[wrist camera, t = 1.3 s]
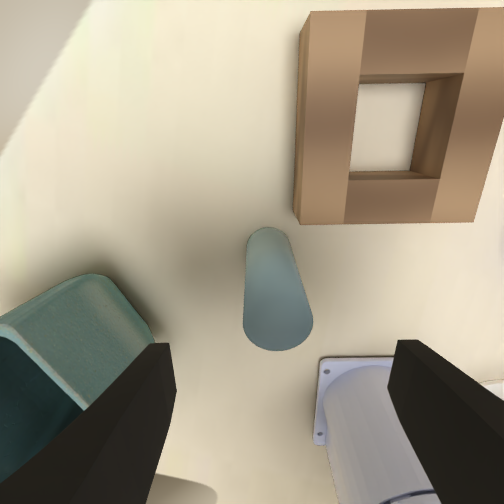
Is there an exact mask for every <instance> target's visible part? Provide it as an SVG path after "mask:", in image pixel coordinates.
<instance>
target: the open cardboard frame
mask: <svg viewBox="0 0 504 504" xmlns="http://www.w3.org/2000/svg"><path fill="white" fill-rule="evenodd" d="M379 83H426V87H425V93H424V98H423V103H422V109H421V114H420V119H419V125H418V130H417V135H416V141H415V146H414V151H413V156H412V162H411V167H410V171H364V172H349V168H350V159H351V150H352V141H353V132H354V122H355V113H356V104H357V95H358V86H359V84H379ZM503 118H504V7H493V8H443V9H393V10H344V11H311V12H310V14H309V16H308V18H307V20H306V22H305V24H304V26H303V28H302V30H301V32H300V40H299V66H298V91H297V117H296V142H295V168H294V193H293V211H294V213H295V215H296V218H297V220H298V222H299V224H300V225H327V224H394V223H461V222H474V218H475V215H476V212H477V208H478V205H479V201H480V198H481V194H482V191H483V187H484V184H485V180H486V177H487V173H488V170H489V167H490V163H491V160H492V156H493V153H494V149H495V146H496V142H497V139H498V135H499V132H500V129H501V125H502V122H503Z"/></svg>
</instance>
